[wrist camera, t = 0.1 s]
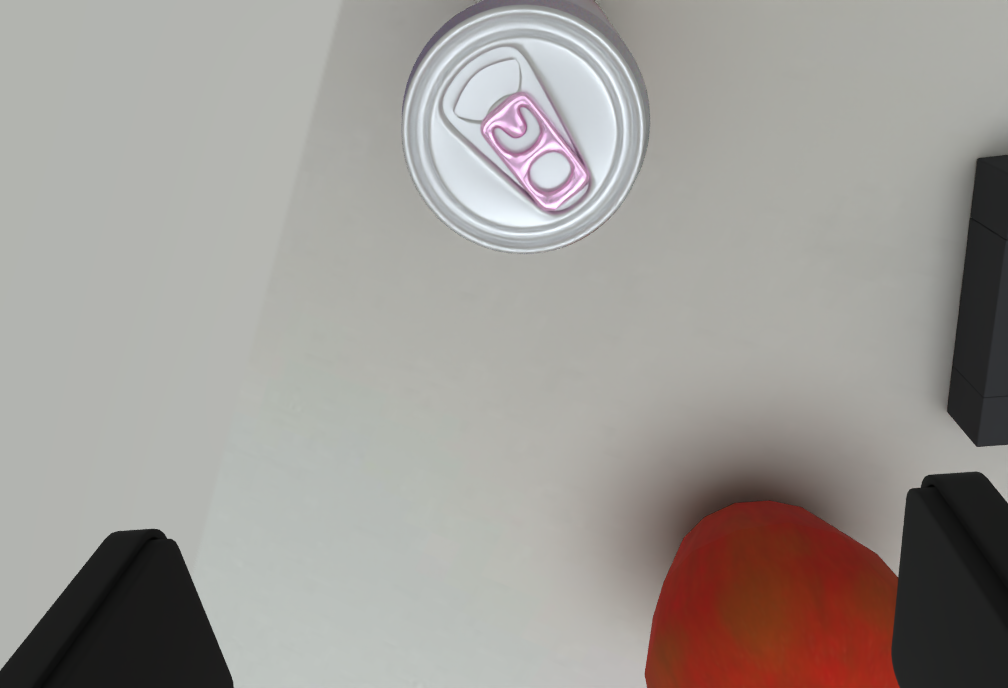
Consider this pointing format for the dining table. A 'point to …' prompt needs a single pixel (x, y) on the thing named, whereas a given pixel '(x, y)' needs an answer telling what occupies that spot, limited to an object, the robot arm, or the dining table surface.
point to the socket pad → (984, 314)
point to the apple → (772, 606)
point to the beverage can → (525, 123)
